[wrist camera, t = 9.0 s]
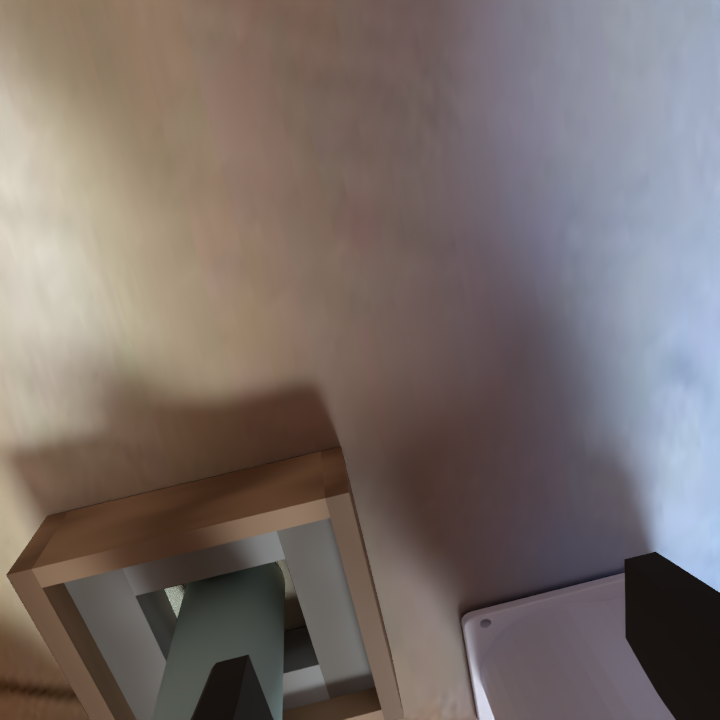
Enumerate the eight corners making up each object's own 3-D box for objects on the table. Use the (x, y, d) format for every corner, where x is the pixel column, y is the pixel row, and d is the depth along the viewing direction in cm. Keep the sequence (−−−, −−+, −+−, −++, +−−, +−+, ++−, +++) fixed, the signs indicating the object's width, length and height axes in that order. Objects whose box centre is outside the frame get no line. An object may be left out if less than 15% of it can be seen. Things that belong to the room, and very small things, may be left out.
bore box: (341, 446, 20) (349, 492, 17) (391, 653, 24) (404, 718, 21) (47, 516, 19) (6, 574, 17) (149, 715, 24) (130, 789, 21)
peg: (275, 540, 21) (264, 787, 13) (292, 615, 23) (291, 881, 14) (175, 558, 21) (96, 822, 12) (199, 632, 22) (141, 914, 14)
